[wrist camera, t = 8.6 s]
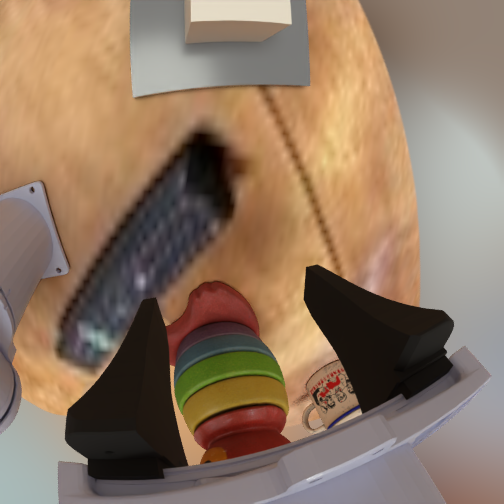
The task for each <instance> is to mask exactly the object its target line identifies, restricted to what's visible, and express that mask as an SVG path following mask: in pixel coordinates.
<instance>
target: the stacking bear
mask: <svg viewBox="0 0 504 504" xmlns="http://www.w3.org/2000/svg"><path fill="white" fill-rule="evenodd" d="M166 329H167V336H168V343H169V358H170V365H172V366H175V370H174V388H175V397H176V400H177V404H178V407H179V409H180V411H181V413H182V415H183V417H184V419H185V422H186V424H187V426H188V428H189V430H190V432H191V433H192V435H193V436H194V439H195V441H196V442H197V443H198V444H199V445H200V446H201V447H202V448H204V449H206V452H205V454H204V455H203V457H202V459H201V462H200V464H206V463H211V462H217V461H222V460H227V459H232V458H237V457H241V456H245V455H249V454H253V453H257V452H261V451H265V450H268V449H272V448H275V447H279V446H282V445H285V444H288V443H291V442H290V441H289V440H288V439H287V438H285V437H284V436H282V435H281V434H280V433H281V432H282V430H283V428H284V426H285V423H286V417H287V415H288V411H289V405H288V398H287V393H286V390H285V382H284V378H283V375H282V372H281V369H280V366H279V365H278V363H277V360H276V358H275V357H274V355H273V354H272V352H271V351H270V350H269V348H268V347H267V346H266V345H265V344H264V343H263V342H262V340H261V339H260V338H259V326H258V321H257V318H256V315H255V313H254V311H253V309H252V308H251V306H250V304H249V303H248V302H247V301H246V299H245V298H244V297H243V296H241V295H240V294H239V293H238V292H237V291H235V290H234V289H232V288H231V287H229V286H227V285H225V284H223V283H220V282H213V283H205V284H202V285H201V286H199V288H198V289H196V290H194V291H193V292H192V293H191V295H190V297H189V302H188V306H187V309H186V311H185V313H184V314H183V316H182V317H181V318H180V319H179V320H177V321H176V322H175V323H173V324H171V325H168V326H166Z"/></svg>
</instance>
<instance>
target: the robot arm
mask: <svg viewBox="0 0 504 504" xmlns="http://www.w3.org/2000/svg"><path fill="white" fill-rule="evenodd" d="M31 187H33V188H34V189H35V192H33V191H32V190H31ZM57 268H60V269H61V271H60V270H58V269H57ZM69 269H70V268H69V264H68V262H67V259H66V257H65V254H64V251H63V248H62V245H61V243H60V240H59V237H58V234H57V231H56V228H55V224H54V221H53V218H52V215H51V211H50V208H49V204H48V200H47V196H46V193H45V189H44V185H43V183H42V182H41V181H36V182H33V183H30V184H27V185H24V186H22V187H19V188H16V189H14V190H11V191H8V192H6V193H3V194H1V195H0V434H1V433H2V432H4V431H5V430H6V429H7V428H8V427H9V426H10V424H11V423H12V422H13V420H14V419H15V416H16V414H17V412H18V409H19V406H20V402H21V394H22V389H21V382H20V378H19V375H18V373H17V371H16V370H15V368H14V367H13V365H12V361H13V358H14V355H15V353H16V348H15V346H14V343H13V337H14V334H15V332H16V329H17V327H18V325H19V322H20V320H21V318H22V316H23V313H24V311H25V309H26V307H27V305H28V303H29V301H30V299H31V297H32V295H33V293H34V291H35V289H36V287H37V285H38V283H39V281H40V280H41V279H44V278H49V277H54V276H59V275H65V274H67V273H68V272H69ZM304 301H305V303H306V306H307V308H308V310H309V312H310V314H311V316H312V317H313V319H314V320H315V322H316V323H317V325H318V326H319V328H320V329H321V331H322V332H323V334H324V335H325V337H326V338H327V340H328V341H329V343H330V344H331V346H332V347H333V349H334V350H335V352H336V354H337V356H338V358H339V360H340V362H341V364H342V366H343V368H344V370H345V372H346V374H347V376H348V379H349V381H350V383H351V385H352V388H353V390H354V393H355V395H356V398H357V400H358V403H359V406H360V409H361V412H362V414H361V415H359V416H357V417H355V418H353V419H351V420H348V421H346V422H344V423H342V424H339V425H337V426H334V427H332V428H330V429H327V430H325V431H322V432H319V433H317V434H314V435H312V436H309V437H306V438H303V439H300V440H297V441H294V442H291V443H288V444H285V445H282V446H279V447H275V448H272V449H268V450H265V451H261V452H257V453H253V454H249V455H245V456H241V457H237V458H232V459H227V460H222V461H217V462H211V463H206V464H200V465H193V466H188V463H187V460H186V456H185V453H184V449H183V446H182V442H181V438H180V434H179V430H178V425H177V421H176V416H175V412H174V406H173V401H172V394H171V382H170V358H169V343H168V336H167V329H166V326H165V324H164V321H163V318H162V315H161V312H160V309H159V306H158V303H157V300H156V297H155V298H150V299H144V300H143V301H142V302H141V304H140V307H139V309H138V312H137V314H136V316H135V319H134V321H133V323H132V325H131V327H130V329H129V331H128V333H127V335H126V337H125V339H124V341H123V343H122V345H121V347H120V348H119V350H118V352H117V353H116V355H115V357H114V358H113V360H112V361H111V363H110V364H109V366H108V367H107V368H106V370H105V371H104V372H103V374H102V375H101V376H100V378H99V379H98V380H97V381H96V382H95V384H94V385H93V386H92V387H91V388H90V389H89V390H88V391H87V392H86V393H85V394H84V395H83V396H82V397H81V398H80V399H79V400H78V401H77V402H76V403H75V404H73V405H72V406H71V407H70V408H69V409H68V412H67V418H66V430H65V440H66V442H67V444H68V445H69V446H71V447H72V448H73V449H74V450H76V451H77V452H79V453H80V454H82V455H83V456H84V457H86V458H88V465H85V464H82V463H72V462H62V461H59V462H58V494H59V504H447V503H446V502H445V500H444V499H443V497H442V495H441V494H440V492H439V490H438V489H437V487H436V486H435V484H434V482H433V481H432V479H431V477H430V476H429V474H428V473H427V471H426V469H425V468H424V466H423V465H422V463H421V461H420V460H419V458H418V457H417V455H416V453H415V452H414V450H413V449H412V448H414V447H415V446H417V445H418V444H420V443H421V442H422V441H424V440H425V439H426V438H428V437H429V436H430V435H432V434H433V433H434V432H435V431H437V430H438V429H439V428H441V427H442V426H443V425H444V424H445V423H447V422H448V421H449V420H450V419H452V418H453V417H454V416H455V415H456V414H457V413H459V412H460V411H461V410H462V409H463V408H464V407H465V406H467V405H468V404H469V402H470V401H471V400H472V399H473V398H474V397H475V396H476V395H477V394H478V393H479V392H480V390H481V389H482V388H483V387H484V386H485V385H486V384H487V382H488V381H489V380H490V379H491V375H490V373H489V372H488V371H487V370H486V369H485V368H484V366H483V365H482V364H481V363H480V362H479V361H478V360H477V359H476V358H475V356H474V355H473V354H472V353H471V352H470V351H469V350H468V349H467V348H466V347H465V346H464V347H462V348H461V349H459V350H458V351H457V352H456V353H454V354H453V355H452V356H451V357H450V358H449V359H448V358H447V357H446V356H445V355H446V353H447V351H446V350H445V349H444V345H445V343H446V342H447V340H448V338H449V336H450V334H451V333H452V330H453V327H454V322H453V320H452V319H451V318H450V317H449V316H448V315H447V314H446V313H445V312H444V311H442V310H435V309H426V308H420V307H415V306H411V305H406V304H403V303H399V302H396V301H392V300H389V299H386V298H384V297H381V296H379V295H376V294H374V293H371V292H369V291H367V290H365V289H363V288H361V287H358V286H357V285H355V284H353V283H351V282H349V281H347V280H345V279H343V278H341V277H340V276H338V275H336V274H334V273H332V272H331V271H329V270H327V269H325V268H323V267H321V266H319V265H313V266H309V267H306V276H305V289H304Z"/></svg>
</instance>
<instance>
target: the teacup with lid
mask: <svg viewBox="0 0 504 504" xmlns="http://www.w3.org/2000/svg"><path fill="white" fill-rule="evenodd" d="M306 390H307V392H308V394H309V396H310V398H311V400H312V402H313V403H311V404H310V405H309V406H308V407H307V408H306V409H305V410H304V412H303V416H302V424H303V427H304V429H305V430H306V431H307V432H310V433H319V432H322V431H324V430H325V429H330V428H332V427H334V426H337V425H339V424H342V423H344V422H346V421H348V420H351V419H353V418H355V417H357V416H359V415H361V414H362V412H361V409H360V406H359V403H358V400H357V398H356V395H355V393H354V390H353V388H352V385H351V383H350V381H349V379H348V376H347V374H346V372H345V370H344V368H343V366H342V364H341V362H340V360H338V361H335V362H333V363H331V364H329V365H327V366H325V367H323V368H322V369H320V370H319V371H318V372H316V373H315V374H314V375H313V376H312V377H311V379H310V380H309V381H308V383H307V386H306ZM314 408H316V410H317V412H318V414H319V416H320V418H321V420H322V422H323V423H324V424H323V425H322V426H320V427H319V428H317V429H311V428H310V426H309V423H308V417H309V414H310V412H311V411H312V410H313V409H314Z"/></svg>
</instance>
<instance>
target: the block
mask: <svg viewBox="0 0 504 504" xmlns="http://www.w3.org/2000/svg"><path fill="white" fill-rule="evenodd" d="M184 17H185V44H190V43H204V42H262V41H264V40H266V39H267V38H269V37H271V36H272V35H274V34H276V33H277V32H279V31H281V30H283V29H284V28H286V27H288V26H290V25H292V20H291V4H290V0H184Z"/></svg>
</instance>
